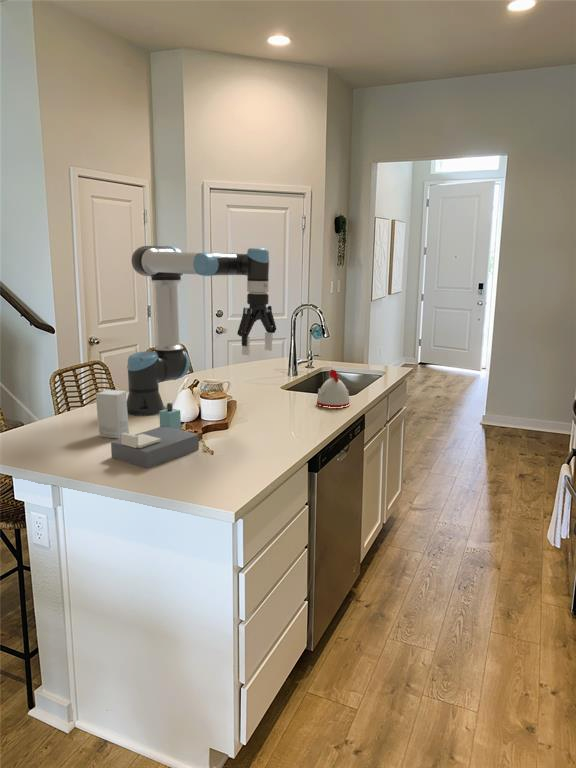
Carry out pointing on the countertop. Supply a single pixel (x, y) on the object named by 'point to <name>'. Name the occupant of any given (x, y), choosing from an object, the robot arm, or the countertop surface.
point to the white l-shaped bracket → (138, 440)
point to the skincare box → (112, 413)
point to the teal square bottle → (170, 417)
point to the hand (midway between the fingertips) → (257, 352)
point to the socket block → (157, 447)
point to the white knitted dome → (333, 392)
